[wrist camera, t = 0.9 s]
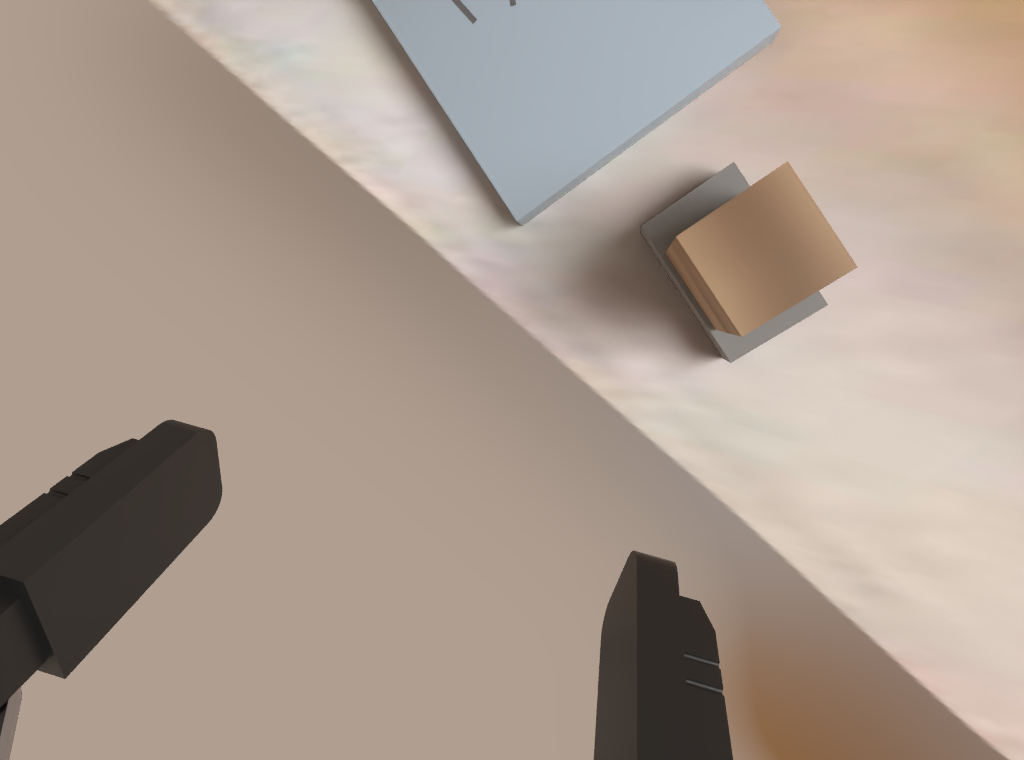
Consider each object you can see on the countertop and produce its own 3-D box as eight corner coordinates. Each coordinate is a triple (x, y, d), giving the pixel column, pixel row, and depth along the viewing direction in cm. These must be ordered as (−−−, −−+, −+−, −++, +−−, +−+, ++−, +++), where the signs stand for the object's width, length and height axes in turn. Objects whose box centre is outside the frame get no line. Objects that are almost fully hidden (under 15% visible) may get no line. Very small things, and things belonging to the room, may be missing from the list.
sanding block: (724, 174, 28) (767, 115, 20) (810, 304, 28) (891, 304, 20) (640, 232, 30) (644, 201, 21) (722, 358, 30) (761, 379, 21)
